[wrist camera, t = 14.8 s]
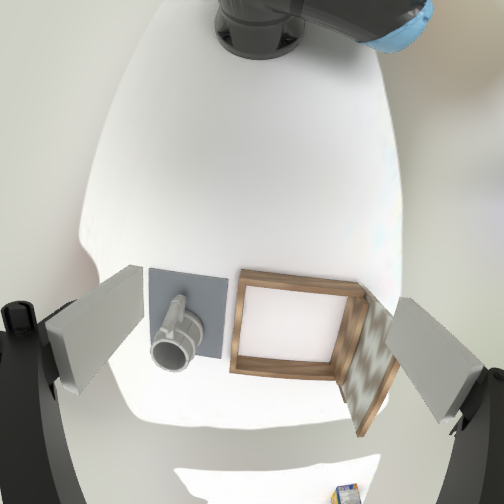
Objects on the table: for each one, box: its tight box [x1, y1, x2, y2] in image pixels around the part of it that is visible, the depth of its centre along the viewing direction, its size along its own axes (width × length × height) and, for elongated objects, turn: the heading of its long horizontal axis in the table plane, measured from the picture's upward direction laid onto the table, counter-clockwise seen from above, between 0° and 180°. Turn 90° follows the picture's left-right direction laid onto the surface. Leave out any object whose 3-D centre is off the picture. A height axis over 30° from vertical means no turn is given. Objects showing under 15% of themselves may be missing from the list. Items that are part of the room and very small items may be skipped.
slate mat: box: [149, 268, 228, 359], centre depth 48 cm, size 16×14×1 cm
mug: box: [150, 295, 204, 372], centre depth 42 cm, size 8×12×12 cm, turn 173°
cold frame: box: [229, 269, 400, 437], centre depth 39 cm, size 19×21×19 cm
